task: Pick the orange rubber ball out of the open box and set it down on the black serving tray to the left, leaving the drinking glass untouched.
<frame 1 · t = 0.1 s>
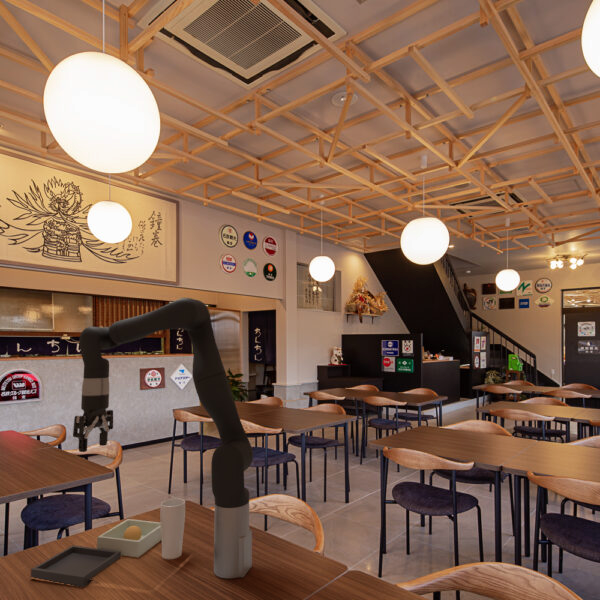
hand: (93, 448, 130), 29 cm above the table, tool pointing down, fingers open, 8 cm apart
ball: (132, 544, 129), point 1 cm above the table, touching open box
tray: (77, 569, 116), on the table
open box: (132, 547, 129), on the table
drinking glass: (171, 559, 122), on the table
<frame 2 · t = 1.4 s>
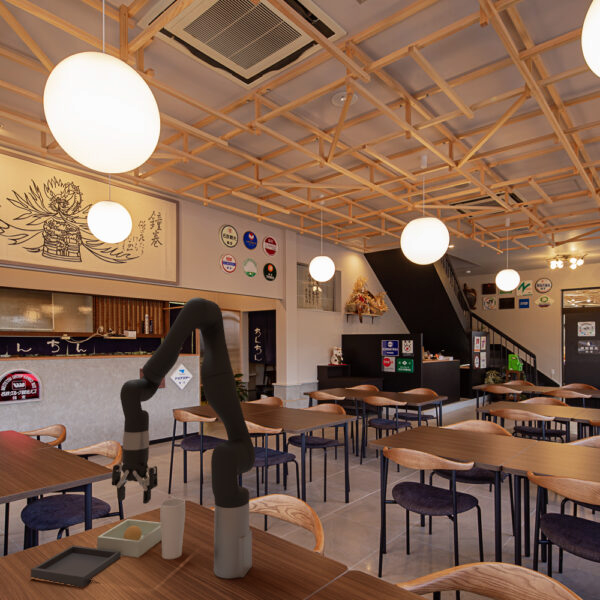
hand: (133, 501, 130), 13 cm above the table, tool pointing down, fingers open, 8 cm apart
nothing on the table moved.
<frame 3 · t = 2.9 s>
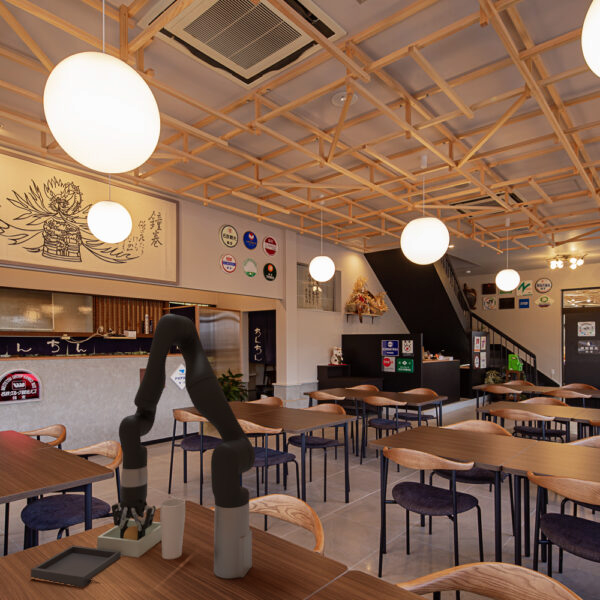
hand: (132, 541, 129), 2 cm above the table, tool pointing down, fingers closed on ball, 5 cm apart
ball: (132, 544, 129), point 1 cm above the table, touching open box, gripper
everything else where it was.
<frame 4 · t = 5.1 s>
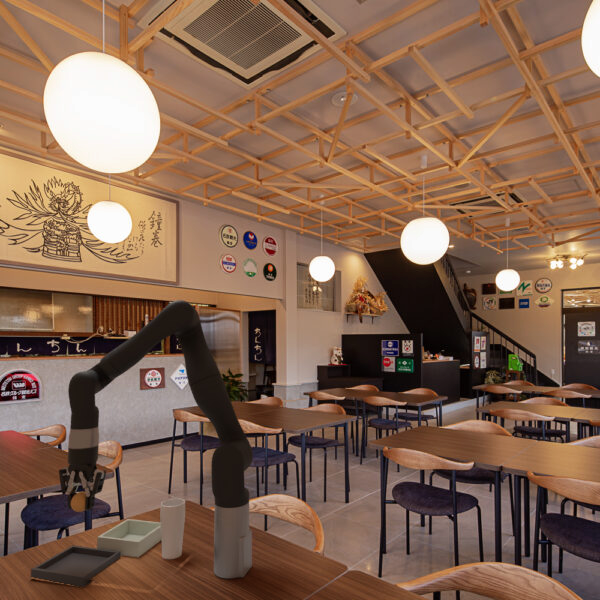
hand: (80, 508, 118), 15 cm above the table, tool pointing down, fingers closed on ball, 5 cm apart
ball: (80, 511, 118), point 15 cm above the table, touching gripper
everything else where it was.
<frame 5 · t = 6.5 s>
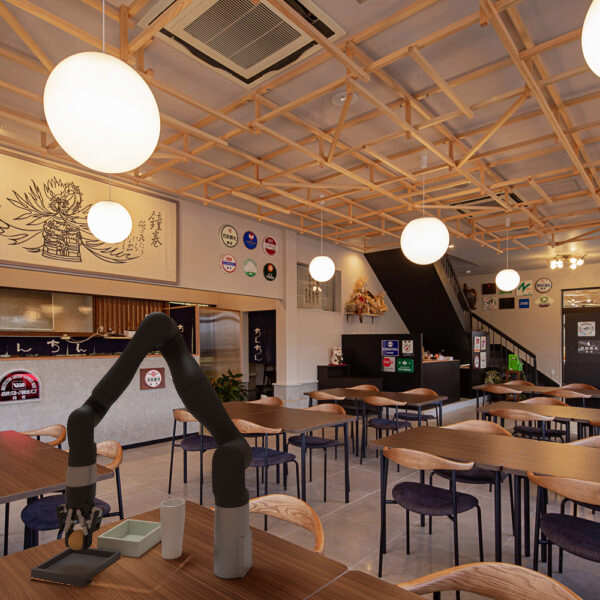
hand: (78, 546, 117), 6 cm above the table, tool pointing down, fingers closed on ball, 5 cm apart
ball: (78, 549, 117), point 5 cm above the table, touching gripper
everything else where it was.
when the fingers open (3 cm above the table, at t = 7.5 s): ball drops 1 cm, resting on tray.
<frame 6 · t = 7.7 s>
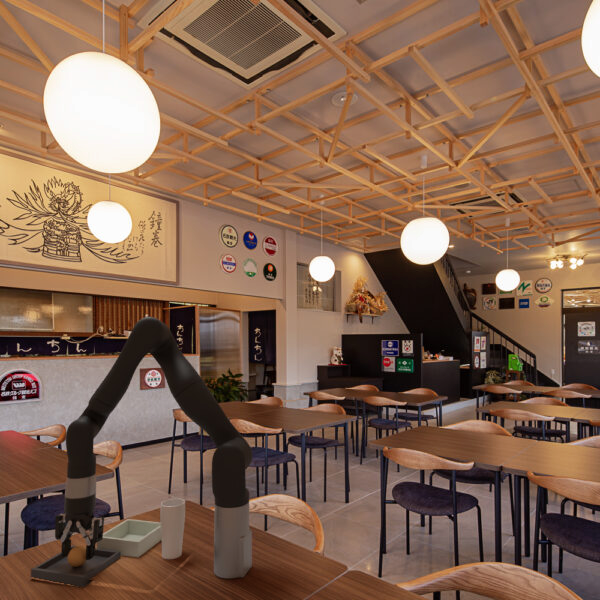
hand: (77, 556, 116), 3 cm above the table, tool pointing down, fingers open, 7 cm apart
ball: (77, 565, 116), point 1 cm above the table, touching tray
everything else where it was.
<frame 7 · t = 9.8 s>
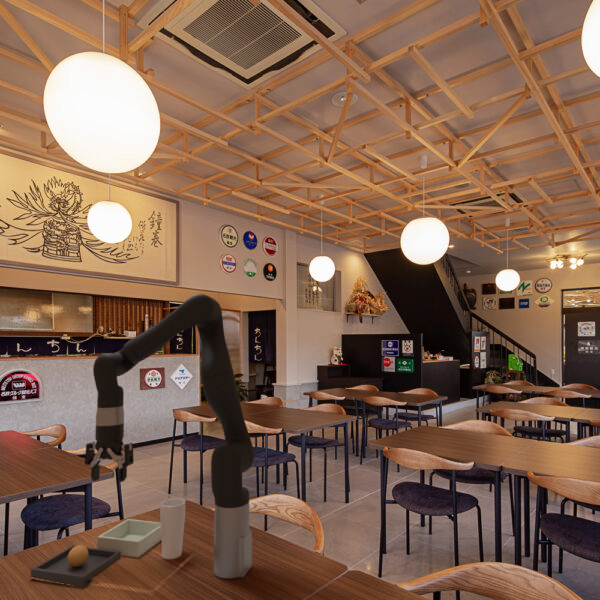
hand: (108, 480, 124), 21 cm above the table, tool pointing down, fingers open, 8 cm apart
nothing on the table moved.
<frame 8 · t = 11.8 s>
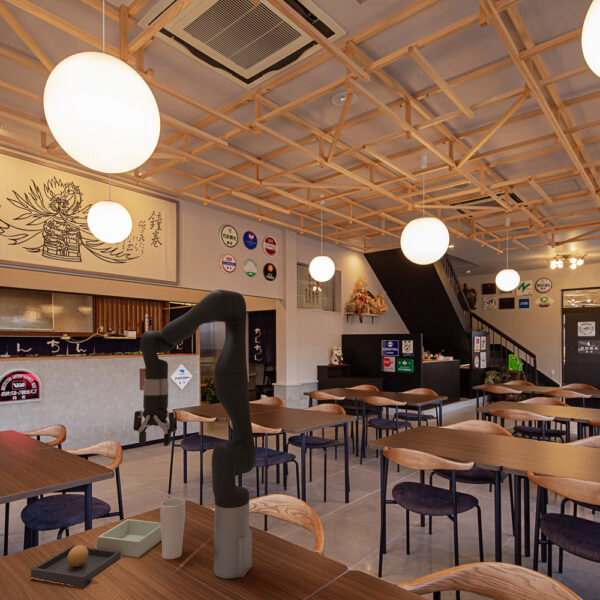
hand: (154, 444, 138), 28 cm above the table, tool pointing down, fingers open, 8 cm apart
nothing on the table moved.
at the end: ball inside the target area on the tray (0.1 cm from its centre), point 1.0 cm above the tray's base; the gripper is holding nothing; ball touching tray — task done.
